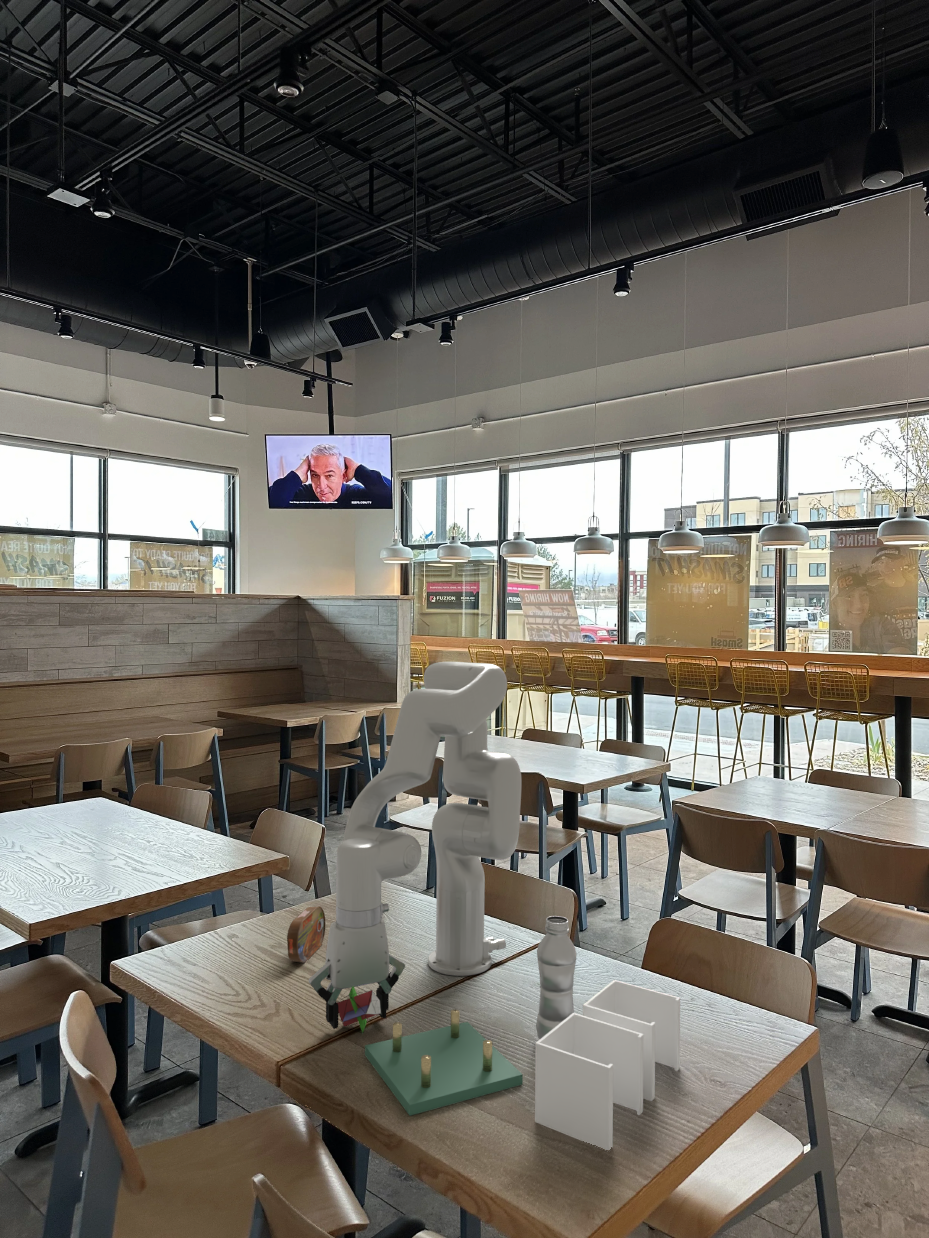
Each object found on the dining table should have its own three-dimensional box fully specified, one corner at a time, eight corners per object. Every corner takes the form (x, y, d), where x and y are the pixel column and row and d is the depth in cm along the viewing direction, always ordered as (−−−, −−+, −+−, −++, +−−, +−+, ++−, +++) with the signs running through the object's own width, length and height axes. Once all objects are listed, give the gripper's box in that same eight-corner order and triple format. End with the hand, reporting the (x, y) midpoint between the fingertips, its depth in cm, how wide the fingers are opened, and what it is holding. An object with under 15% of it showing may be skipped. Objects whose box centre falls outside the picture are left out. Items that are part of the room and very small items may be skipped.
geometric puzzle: (322, 1023, 138) (351, 985, 138) (330, 1003, 145) (359, 967, 145) (356, 1050, 138) (386, 1012, 138) (363, 1030, 145) (392, 994, 145)
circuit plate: (467, 1030, 141) (467, 1021, 141) (522, 1084, 125) (522, 1074, 125) (364, 1054, 133) (364, 1045, 133) (409, 1115, 116) (409, 1104, 116)
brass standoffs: (457, 1033, 137) (457, 1008, 137) (493, 1070, 126) (494, 1043, 126) (391, 1048, 131) (391, 1023, 131) (423, 1088, 120) (423, 1060, 120)
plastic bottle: (548, 1057, 132) (550, 929, 132) (528, 1037, 138) (529, 915, 138) (584, 1049, 135) (585, 924, 135) (562, 1030, 141) (564, 910, 141)
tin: (299, 969, 165) (299, 926, 165) (283, 968, 165) (284, 924, 165) (326, 940, 179) (327, 901, 179) (312, 939, 180) (313, 899, 180)
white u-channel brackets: (613, 1047, 136) (614, 979, 136) (679, 1069, 130) (680, 997, 130) (534, 1123, 115) (535, 1042, 115) (608, 1153, 109) (609, 1067, 109)
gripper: (398, 900, 149) (397, 1000, 149) (301, 915, 141) (300, 1020, 141) (415, 914, 142) (414, 1019, 142) (314, 930, 134) (313, 1041, 134)
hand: (357, 1019), depth 141 cm, fingers open, 7 cm apart
